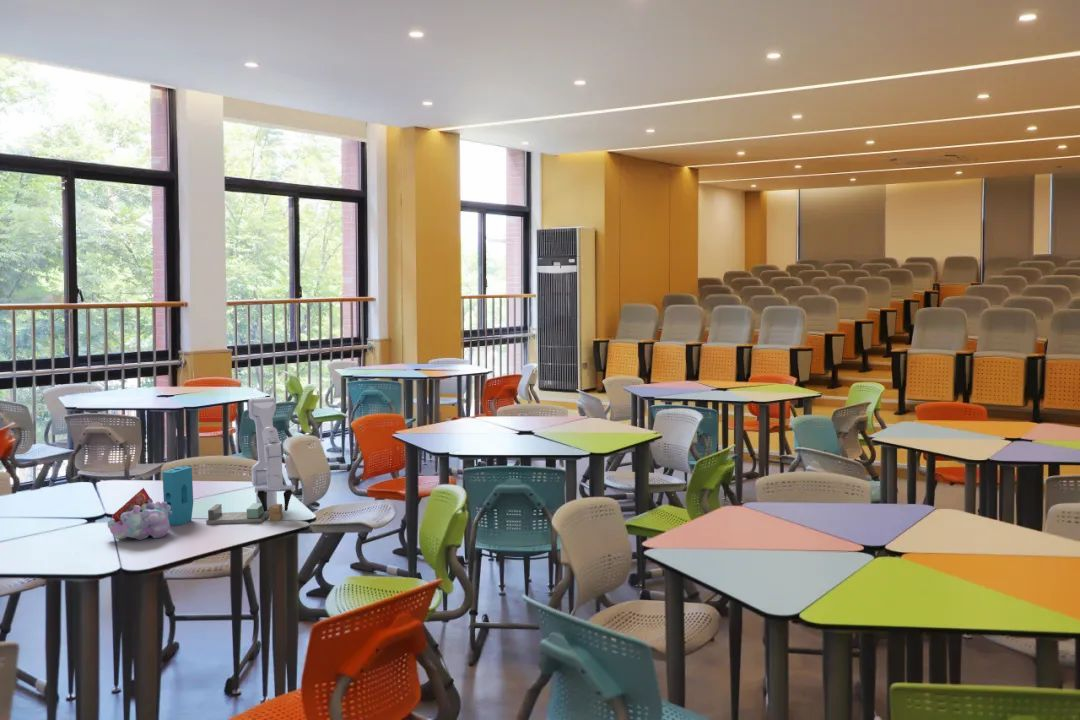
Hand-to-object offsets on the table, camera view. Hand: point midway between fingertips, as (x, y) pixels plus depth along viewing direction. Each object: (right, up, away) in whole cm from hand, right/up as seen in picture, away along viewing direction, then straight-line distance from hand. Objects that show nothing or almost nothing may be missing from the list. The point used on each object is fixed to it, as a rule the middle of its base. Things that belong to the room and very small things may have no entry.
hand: (275, 510), depth 347 cm
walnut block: (0, -3, 0) cm, 3 cm away
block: (-35, -4, -3) cm, 35 cm away
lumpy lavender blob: (-41, -6, -24) cm, 47 cm away
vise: (-14, -3, 0) cm, 14 cm away
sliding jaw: (-7, -2, 0) cm, 8 cm away
